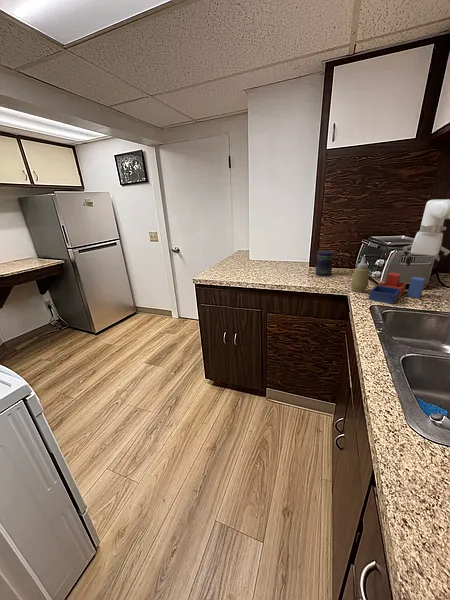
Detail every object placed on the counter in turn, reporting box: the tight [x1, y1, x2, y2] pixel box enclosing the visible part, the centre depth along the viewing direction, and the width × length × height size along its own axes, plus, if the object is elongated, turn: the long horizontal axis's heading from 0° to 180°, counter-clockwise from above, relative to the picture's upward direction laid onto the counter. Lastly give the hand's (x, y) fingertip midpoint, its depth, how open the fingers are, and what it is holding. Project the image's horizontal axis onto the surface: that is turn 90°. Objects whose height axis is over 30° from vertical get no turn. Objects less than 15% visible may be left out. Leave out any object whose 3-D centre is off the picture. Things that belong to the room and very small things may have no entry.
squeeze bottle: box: [350, 256, 370, 293], centre depth 128 cm, size 8×8×18 cm
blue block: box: [406, 276, 426, 299], centre depth 119 cm, size 5×5×9 cm
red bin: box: [377, 281, 407, 298], centre depth 127 cm, size 10×10×4 cm
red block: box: [385, 272, 402, 287], centre depth 126 cm, size 5×5×9 cm
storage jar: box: [315, 249, 335, 277], centre depth 160 cm, size 10×10×15 cm
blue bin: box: [368, 284, 400, 305], centre depth 119 cm, size 10×10×4 cm
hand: (420, 266), depth 116 cm, fingers open, 9 cm apart
